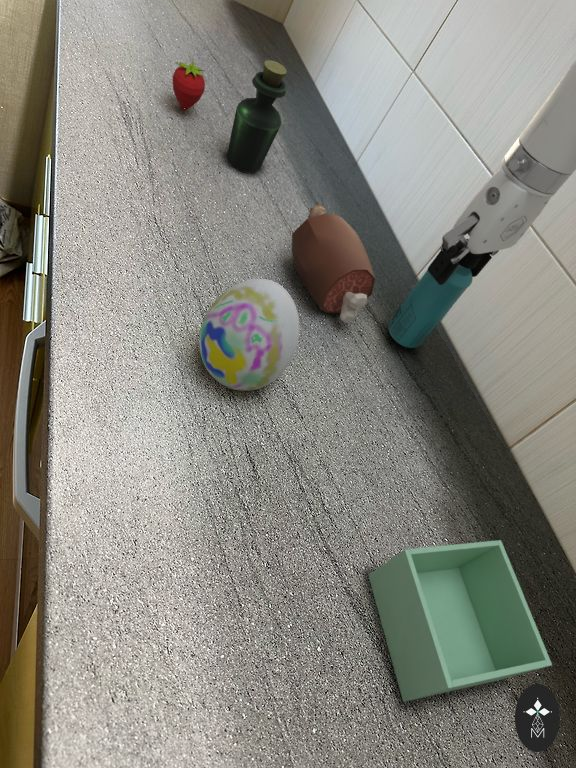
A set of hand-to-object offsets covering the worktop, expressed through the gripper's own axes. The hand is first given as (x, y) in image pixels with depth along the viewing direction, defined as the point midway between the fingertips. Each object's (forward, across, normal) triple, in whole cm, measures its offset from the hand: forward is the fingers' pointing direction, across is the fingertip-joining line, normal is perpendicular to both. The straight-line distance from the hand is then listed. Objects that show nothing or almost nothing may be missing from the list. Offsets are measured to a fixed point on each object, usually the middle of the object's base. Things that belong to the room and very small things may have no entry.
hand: (452, 272), depth 81 cm
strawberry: (+15, -10, +60) cm, 63 cm away
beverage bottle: (+15, 0, 0) cm, 15 cm away
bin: (+15, -25, -37) cm, 47 cm away
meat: (+15, -8, +14) cm, 22 cm away
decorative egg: (+15, -30, +3) cm, 33 cm away
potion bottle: (+15, -5, +44) cm, 47 cm away
